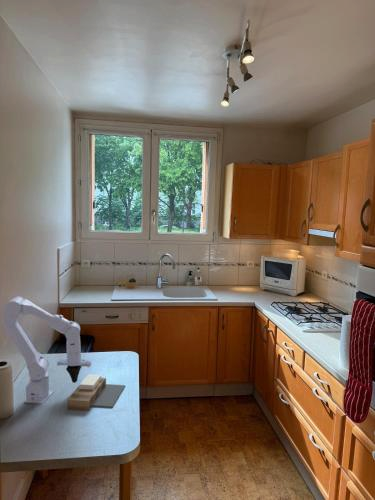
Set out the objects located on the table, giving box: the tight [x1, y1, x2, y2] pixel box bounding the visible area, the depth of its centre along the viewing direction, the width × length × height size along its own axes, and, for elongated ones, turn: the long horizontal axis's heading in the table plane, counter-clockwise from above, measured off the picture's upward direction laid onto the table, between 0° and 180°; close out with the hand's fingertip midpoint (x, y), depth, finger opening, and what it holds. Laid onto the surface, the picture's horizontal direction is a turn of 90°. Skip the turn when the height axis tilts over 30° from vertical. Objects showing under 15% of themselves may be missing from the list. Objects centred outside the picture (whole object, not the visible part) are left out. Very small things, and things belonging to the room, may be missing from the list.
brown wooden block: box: [66, 377, 107, 412], centre depth 144 cm, size 19×9×4 cm, turn 173°
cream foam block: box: [79, 373, 102, 390], centre depth 147 cm, size 9×6×2 cm, turn 173°
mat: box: [92, 383, 126, 409], centre depth 145 cm, size 17×8×1 cm, turn 173°
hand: (74, 381), depth 148 cm, fingers closed
